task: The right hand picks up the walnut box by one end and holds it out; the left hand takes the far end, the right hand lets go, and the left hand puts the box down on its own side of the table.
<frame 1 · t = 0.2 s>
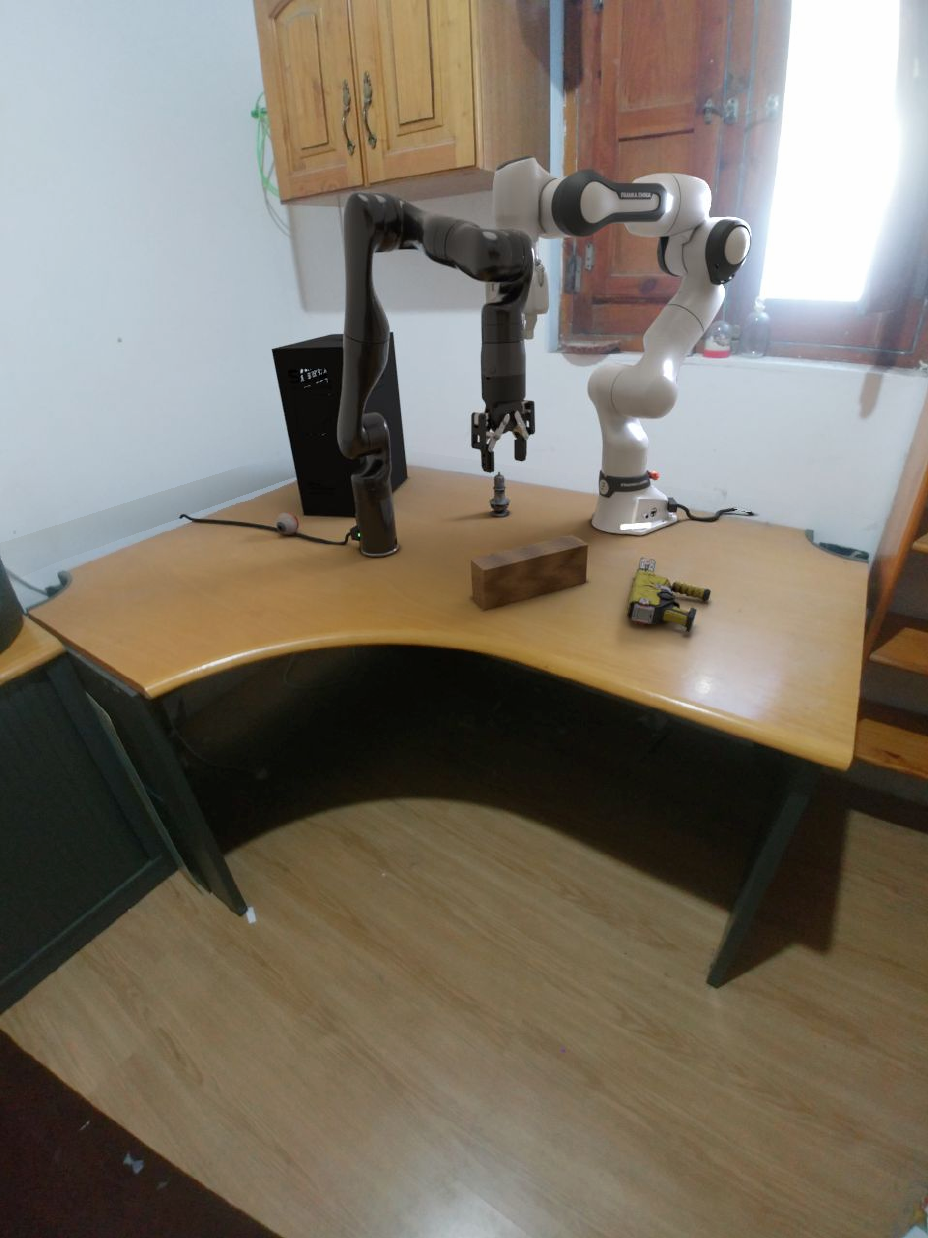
left hand: (504, 465, 109), 29 cm above the table, tool pointing down, fingers open, 8 cm apart
right hand: (516, 337, 125), 48 cm above the table, tool pointing down, fingers open, 8 cm apart
cardboard box: (359, 495, 192), on the table
grey chess piece: (499, 513, 171), on the table
box: (529, 589, 130), on the table
eyeball: (289, 534, 165), on the table
toy gun: (669, 603, 121), on the table
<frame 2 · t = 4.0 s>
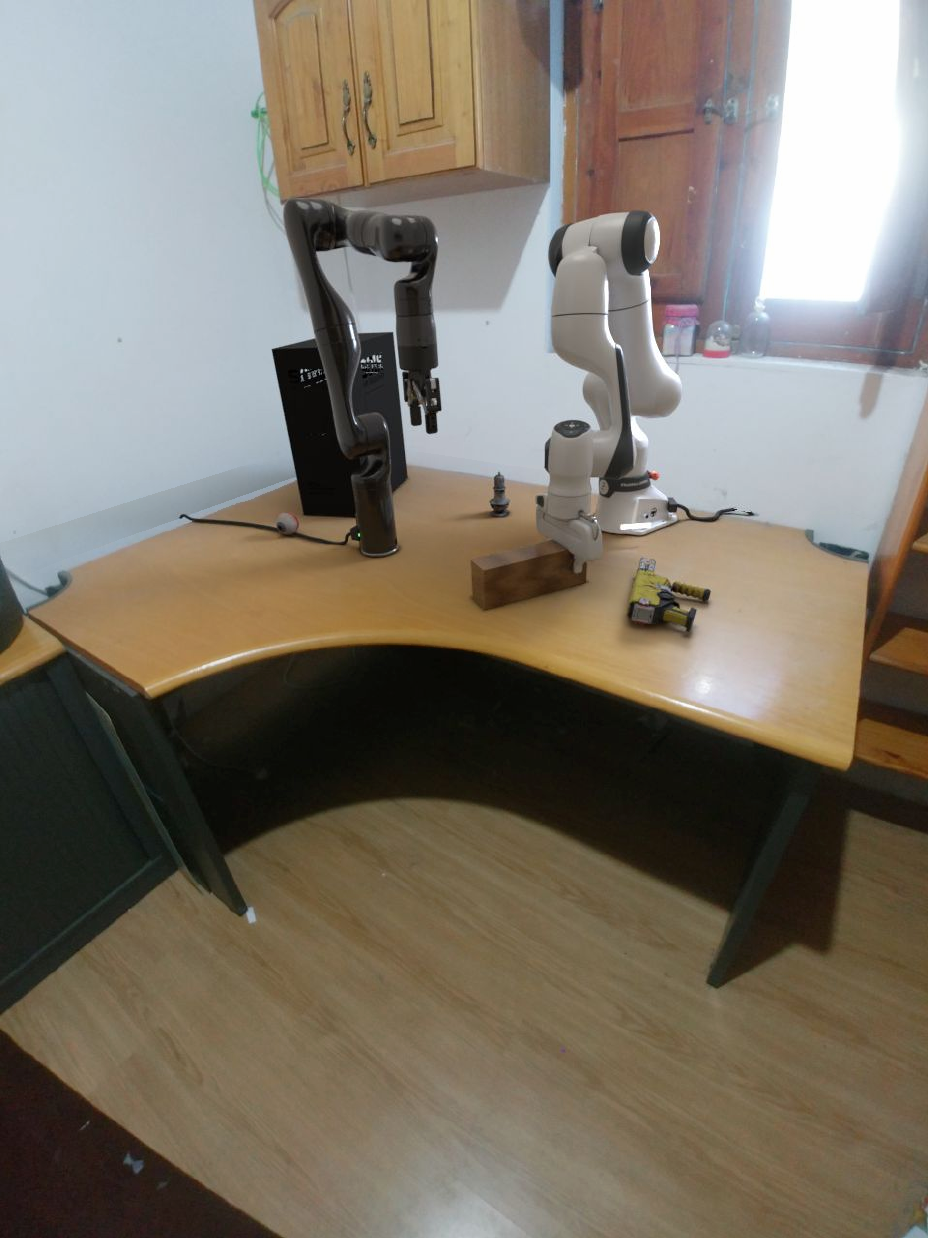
left hand: (424, 429, 122), 33 cm above the table, tool pointing down, fingers open, 8 cm apart
right hand: (566, 565, 131), 4 cm above the table, tool pointing down, fingers closed on box, 6 cm apart
box: (529, 589, 130), on the table, touching right hand
everything else where it was.
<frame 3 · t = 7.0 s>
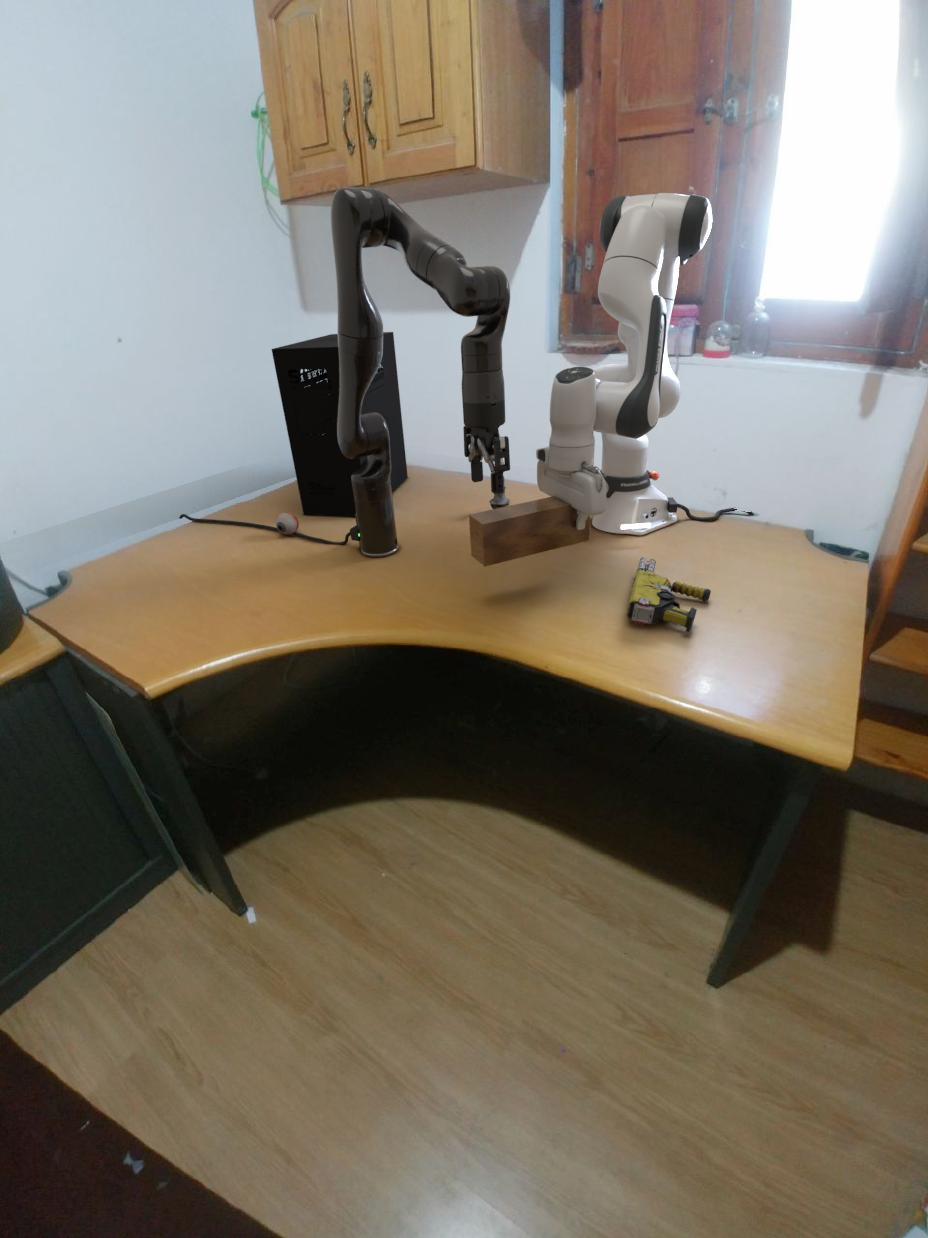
left hand: (487, 486, 114), 24 cm above the table, tool pointing down, fingers open, 8 cm apart
right hand: (568, 522, 126), 13 cm above the table, tool pointing down, fingers closed on box, 6 cm apart
box: (530, 548, 125), point 10 cm above the table, touching right hand
everything else where it was.
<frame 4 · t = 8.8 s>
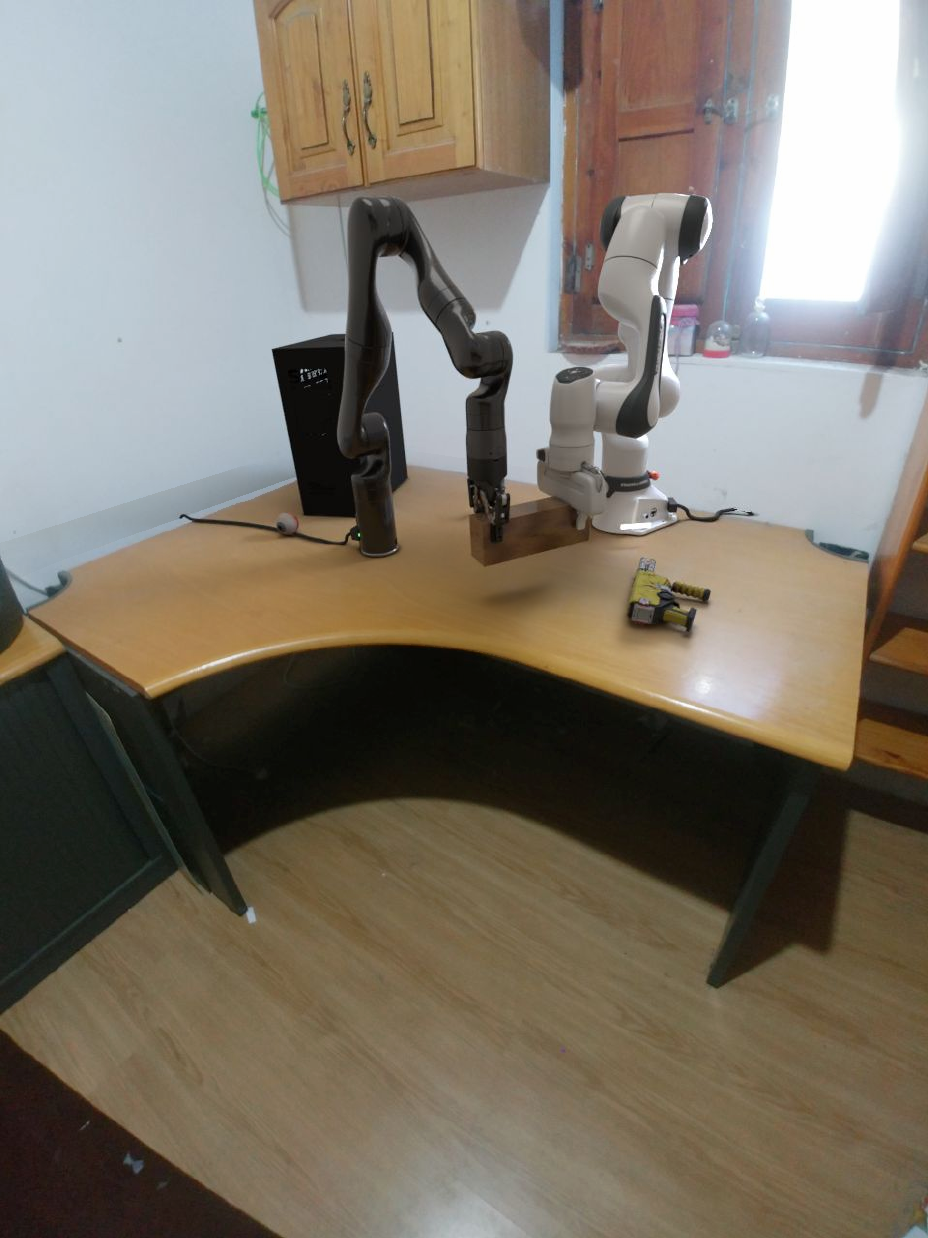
left hand: (489, 536, 119), 14 cm above the table, tool pointing down, fingers closed on box, 6 cm apart
right hand: (568, 522, 126), 13 cm above the table, tool pointing down, fingers closed on box, 6 cm apart
box: (530, 548, 125), point 10 cm above the table, touching right hand, left hand
everything else where it was.
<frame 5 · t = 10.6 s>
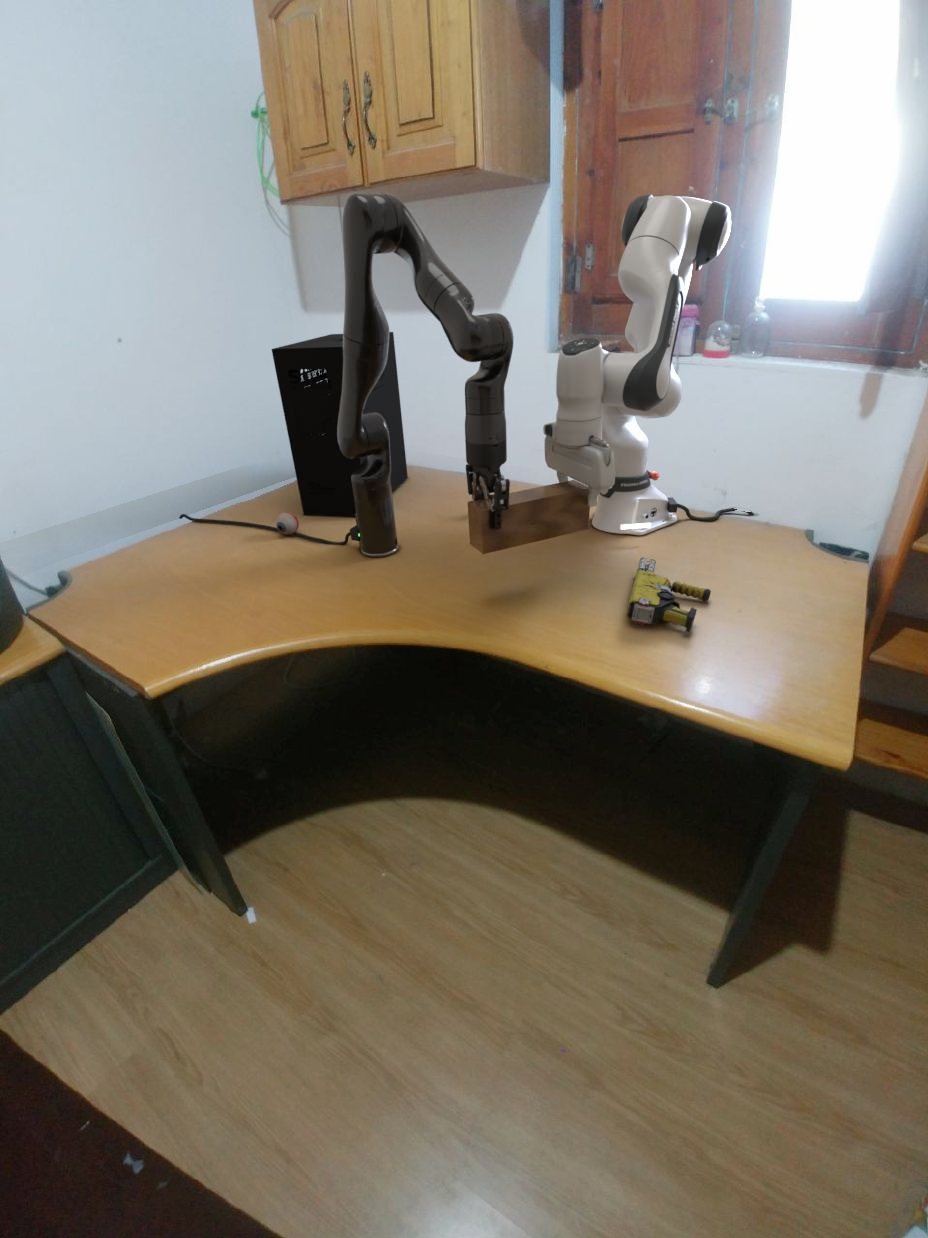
left hand: (488, 523, 118), 17 cm above the table, tool pointing down, fingers closed on box, 6 cm apart
right hand: (577, 498, 125), 18 cm above the table, tool pointing down, fingers open, 8 cm apart
box: (529, 536, 124), point 12 cm above the table, touching left hand
everything else where it was.
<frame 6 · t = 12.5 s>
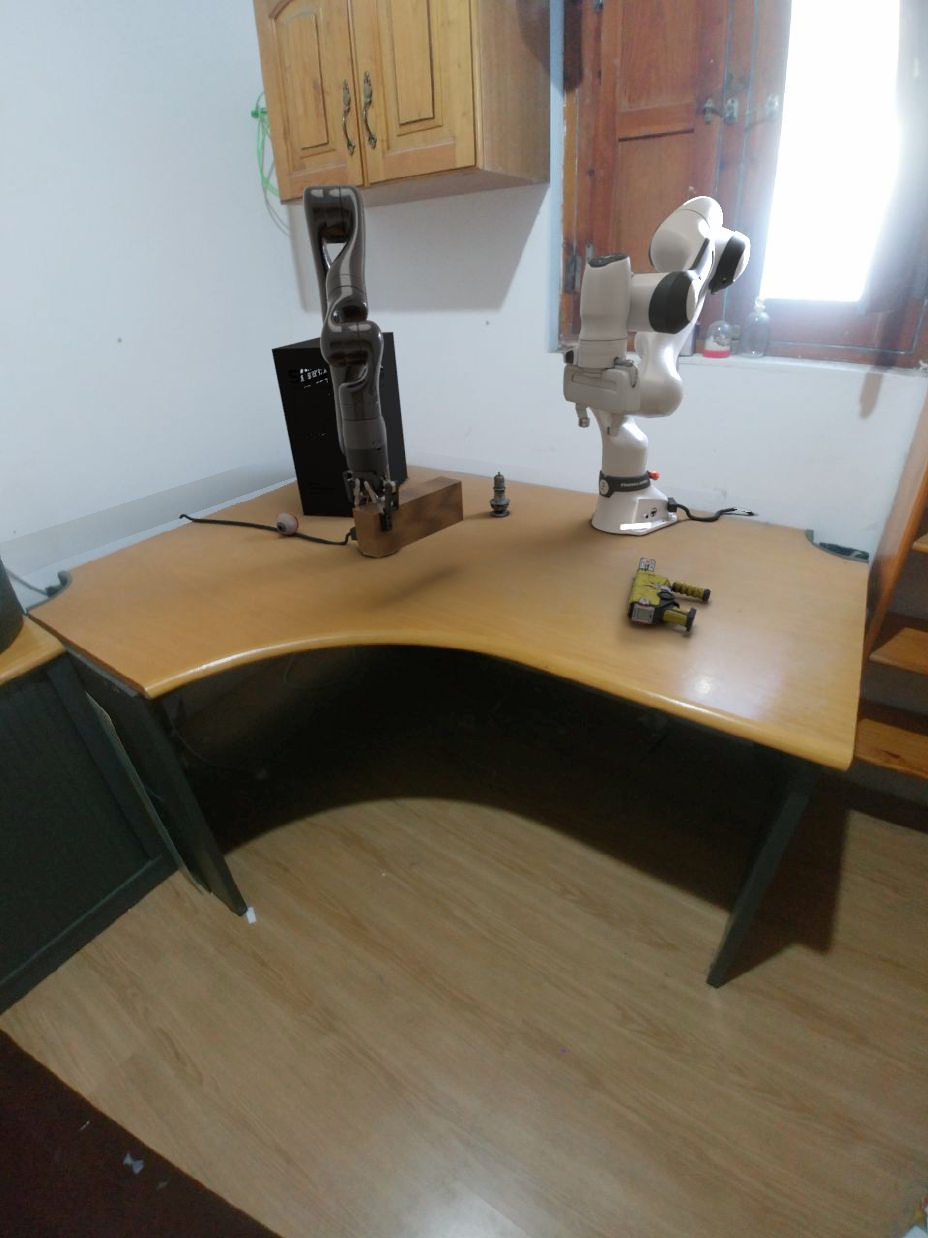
left hand: (376, 527, 119), 17 cm above the table, tool pointing down, fingers closed on box, 6 cm apart
right hand: (597, 431, 119), 31 cm above the table, tool pointing down, fingers open, 8 cm apart
box: (413, 534, 127), point 12 cm above the table, touching left hand
everything else where it was.
when the left hand's fingers open (6 cm above the table, at t = 16.3 s): box drops 1 cm, on the table.
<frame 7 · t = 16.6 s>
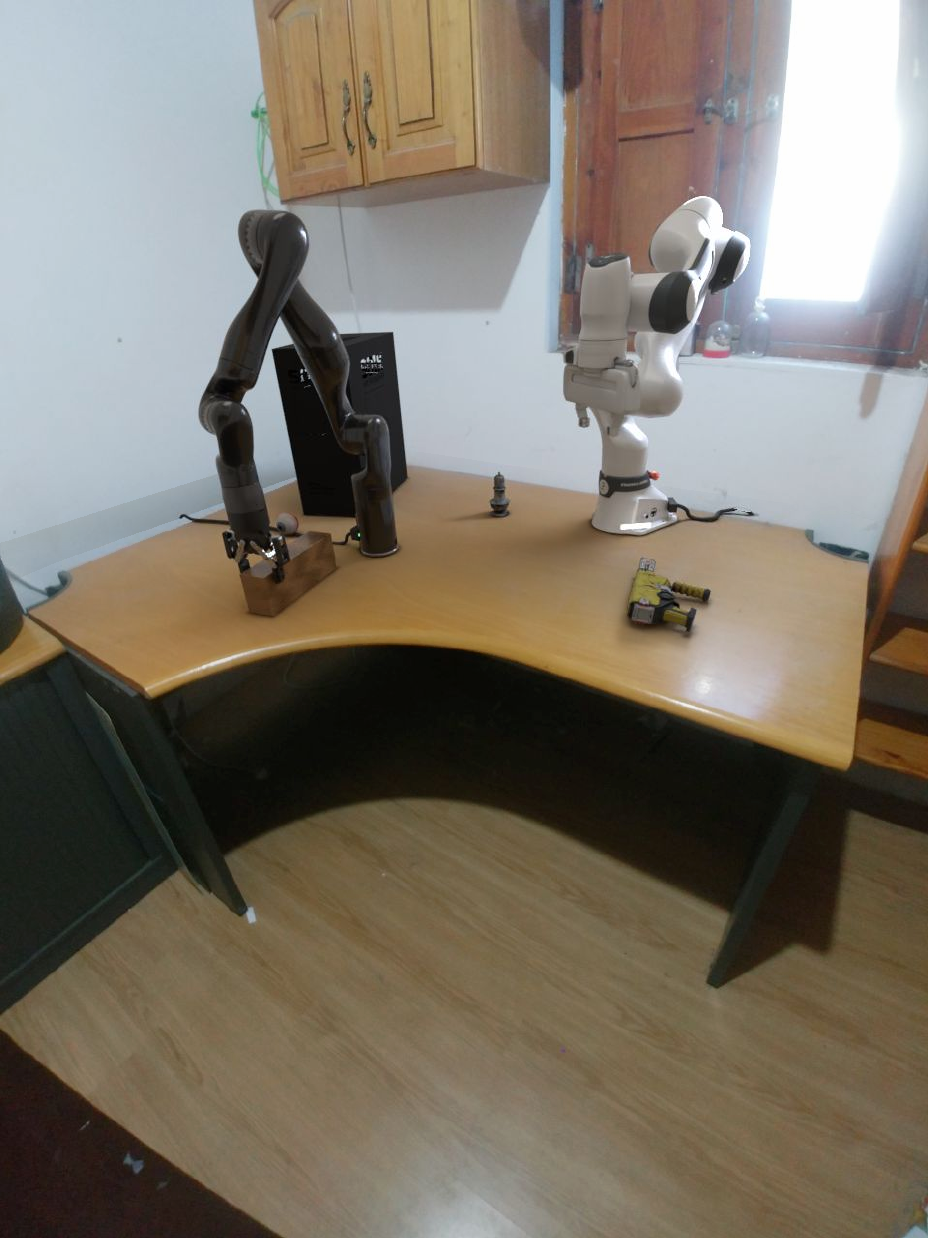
left hand: (263, 579, 125), 7 cm above the table, tool pointing down, fingers open, 8 cm apart
right hand: (597, 431, 119), 31 cm above the table, tool pointing down, fingers open, 8 cm apart
box: (295, 588, 136), on the table
everything else where it was.
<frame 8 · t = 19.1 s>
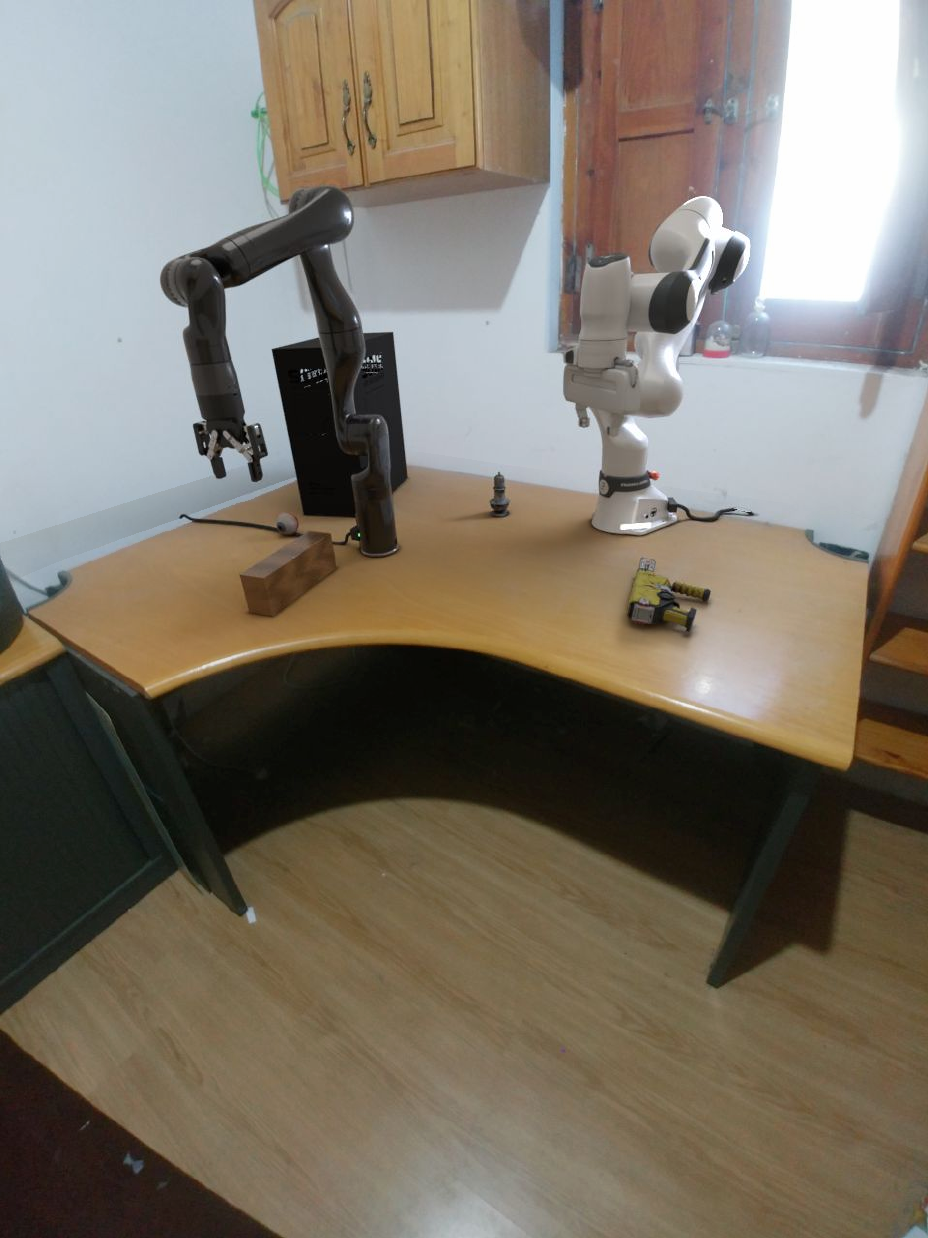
left hand: (239, 479, 115), 28 cm above the table, tool pointing down, fingers open, 8 cm apart
right hand: (597, 431, 119), 31 cm above the table, tool pointing down, fingers open, 8 cm apart
nothing on the table moved.
at the end: box inside the target area (9.1 cm from its centre), on the table; the left hand is holding nothing; the right hand is holding nothing; box at rest at the end (0.0 cm/s) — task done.
